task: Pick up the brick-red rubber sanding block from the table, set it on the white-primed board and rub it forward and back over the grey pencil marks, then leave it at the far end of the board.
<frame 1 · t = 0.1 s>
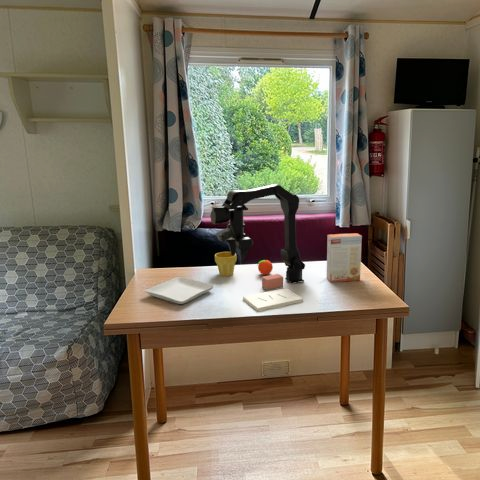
hand: (237, 258, 166), 15 cm above the table, fingers open, 9 cm apart
salad plate: (180, 295, 168), on the table
plant pot: (226, 274, 192), on the table
cracker box: (342, 279, 181), on the table
board: (272, 300, 159), on the table
clementine: (264, 274, 190), on the table
sanding block: (272, 287, 173), on the table
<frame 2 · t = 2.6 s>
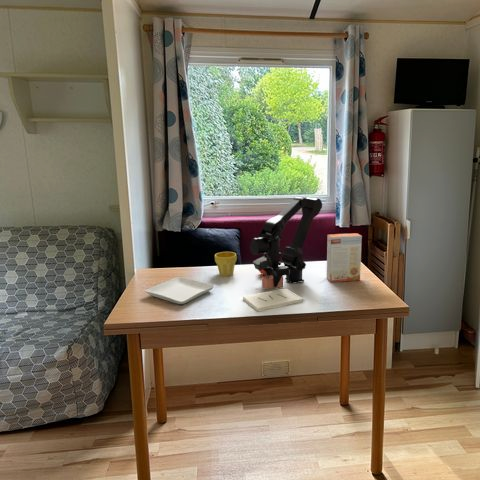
hand: (272, 285, 173), 1 cm above the table, fingers closed on sanding block, 4 cm apart
sanding block: (272, 287, 173), on the table, touching gripper
everything else where it was.
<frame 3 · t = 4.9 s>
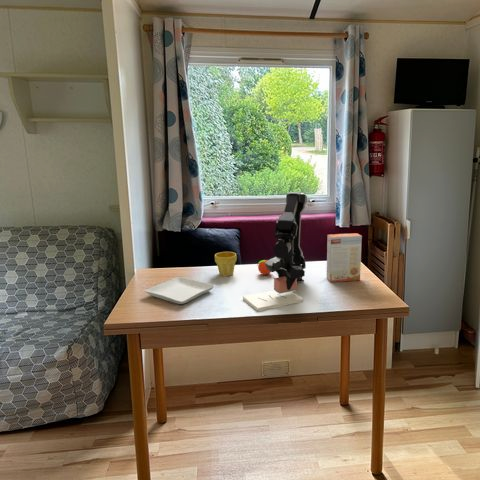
hand: (285, 287, 161), 4 cm above the table, fingers closed on sanding block, 4 cm apart
sanding block: (285, 290, 161), point 3 cm above the table, touching gripper
everything else where it was.
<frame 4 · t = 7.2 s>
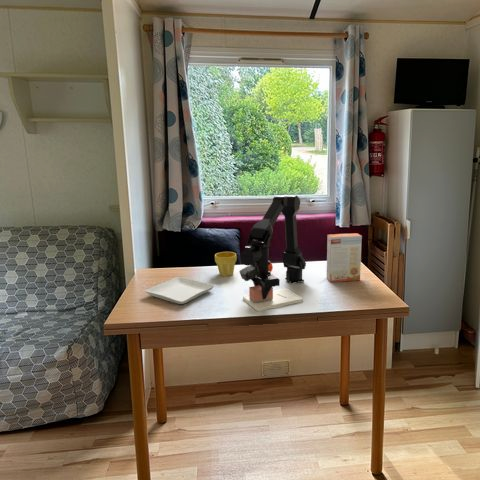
hand: (261, 296, 157), 3 cm above the table, fingers closed on sanding block, 4 cm apart
sanding block: (261, 299, 157), point 1 cm above the table, touching gripper
everything else where it was.
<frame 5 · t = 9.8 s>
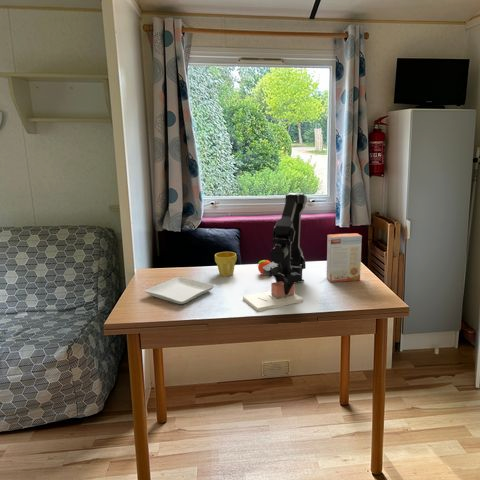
hand: (283, 292, 161), 2 cm above the table, fingers closed on sanding block, 4 cm apart
sanding block: (282, 294, 161), point 1 cm above the table, touching gripper
everything else where it was.
when the fingers open (2 cm above the table, at t = 12.2 s): sanding block stays where it is, resting on board.
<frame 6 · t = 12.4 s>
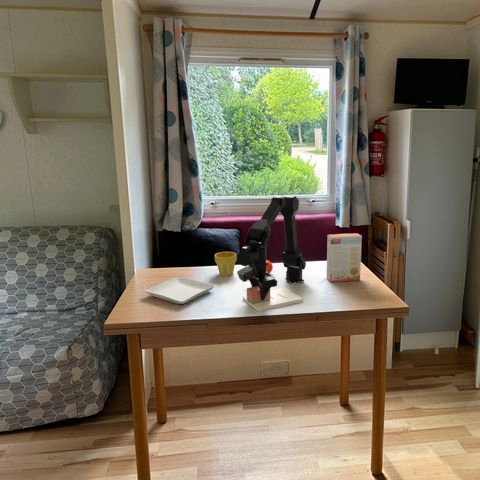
hand: (259, 297, 156), 2 cm above the table, fingers open, 6 cm apart
sanding block: (258, 300, 157), point 1 cm above the table, touching board
everything else where it was.
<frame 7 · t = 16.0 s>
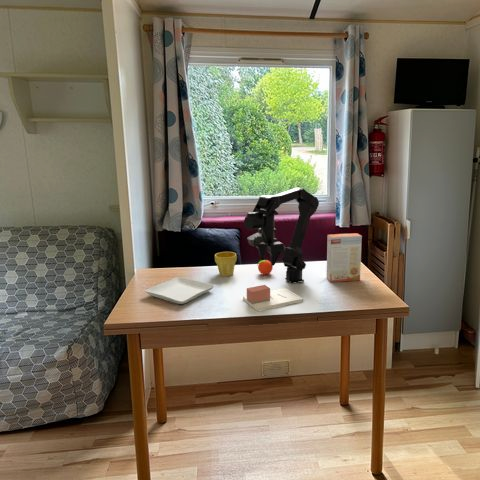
hand: (267, 262, 168), 12 cm above the table, fingers open, 9 cm apart
nothing on the table moved.
at the end: sanding block inside the target area on the board (0.5 cm from its centre), point 1.2 cm above the board's base; sanding block tilted 0°; the gripper is holding nothing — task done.
